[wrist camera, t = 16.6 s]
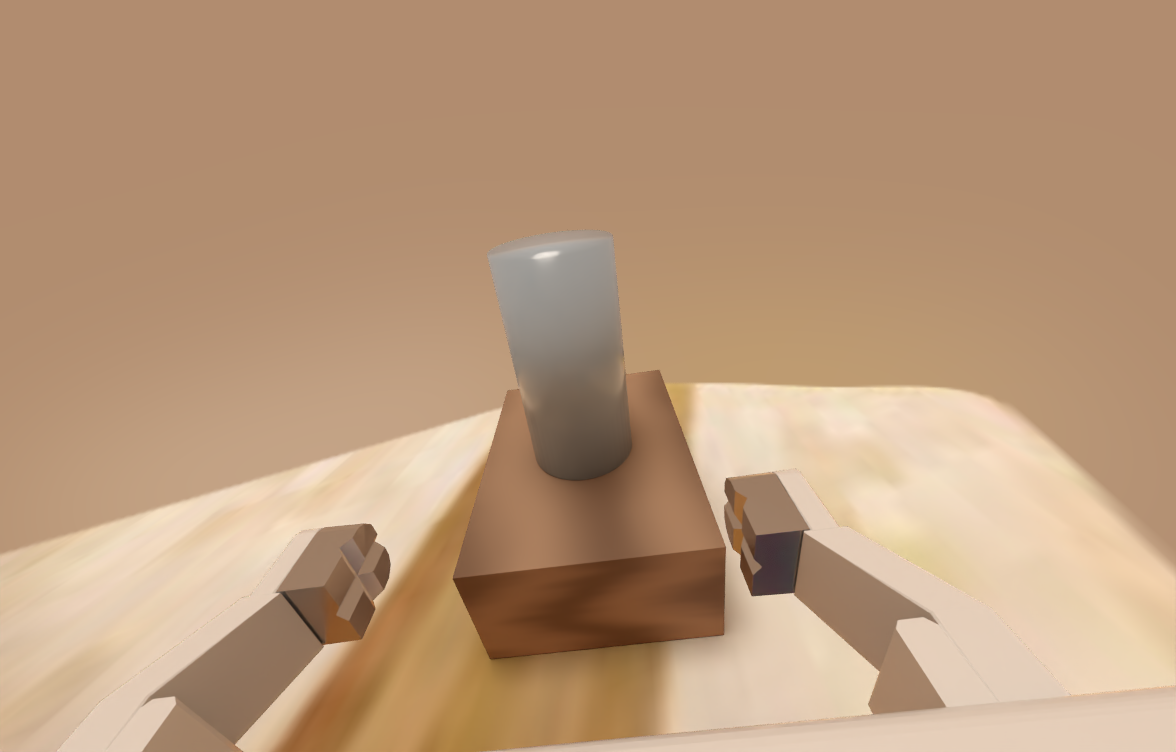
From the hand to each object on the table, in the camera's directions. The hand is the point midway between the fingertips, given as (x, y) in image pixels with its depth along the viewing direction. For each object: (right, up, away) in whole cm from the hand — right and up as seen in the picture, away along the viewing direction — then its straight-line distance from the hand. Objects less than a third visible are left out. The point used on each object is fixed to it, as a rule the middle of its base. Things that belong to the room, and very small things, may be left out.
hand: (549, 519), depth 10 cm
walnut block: (+2, -6, +16) cm, 17 cm away
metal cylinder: (+1, -1, +14) cm, 14 cm away
